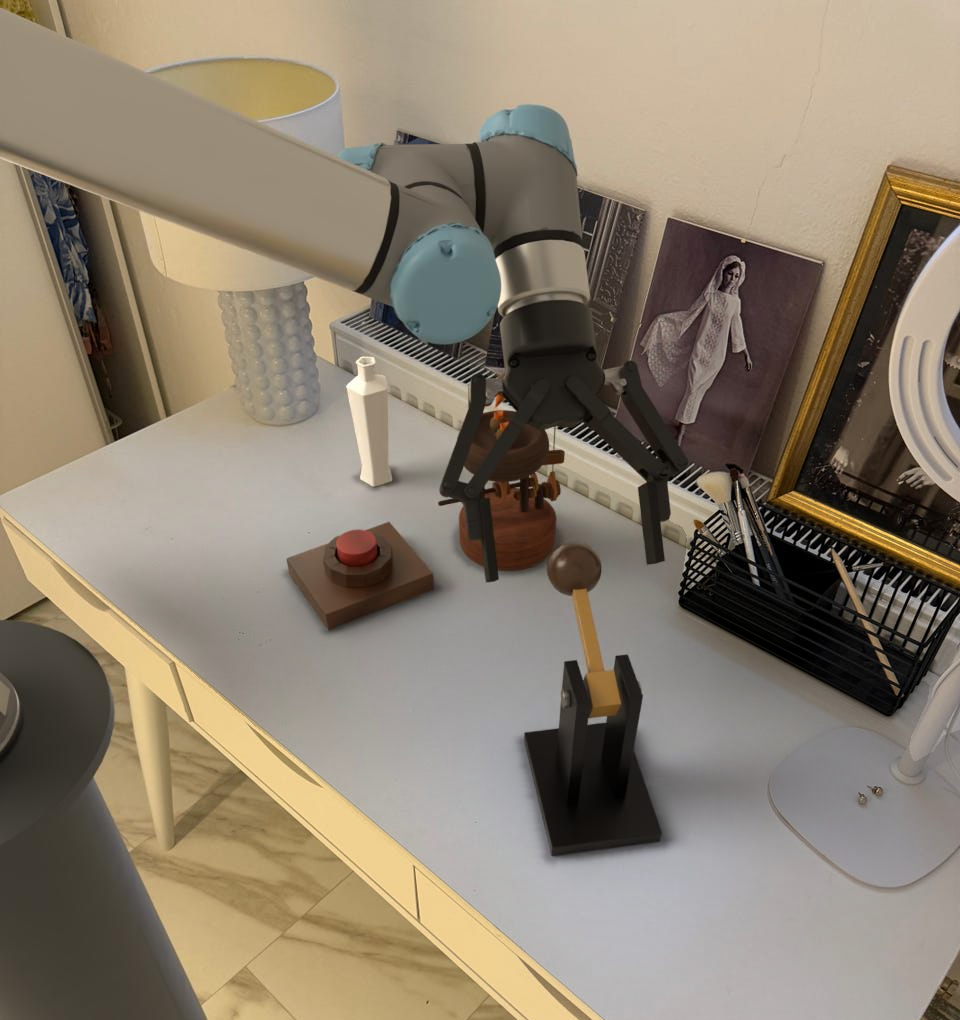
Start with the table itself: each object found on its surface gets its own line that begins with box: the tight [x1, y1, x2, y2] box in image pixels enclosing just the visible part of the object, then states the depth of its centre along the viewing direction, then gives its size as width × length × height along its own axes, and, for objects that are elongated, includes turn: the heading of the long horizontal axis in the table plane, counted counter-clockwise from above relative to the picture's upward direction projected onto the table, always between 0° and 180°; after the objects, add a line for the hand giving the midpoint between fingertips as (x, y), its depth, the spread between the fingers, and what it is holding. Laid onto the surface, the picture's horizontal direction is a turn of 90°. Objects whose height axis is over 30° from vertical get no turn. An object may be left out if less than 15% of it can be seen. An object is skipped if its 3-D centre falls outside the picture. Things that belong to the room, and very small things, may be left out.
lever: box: [546, 541, 621, 719], centre depth 76 cm, size 15×4×4 cm, turn 9°
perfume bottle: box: [346, 356, 393, 487], centre depth 109 cm, size 5×4×15 cm
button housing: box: [285, 521, 435, 631], centre depth 99 cm, size 12×10×4 cm
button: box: [336, 529, 377, 567], centre depth 98 cm, size 4×4×2 cm
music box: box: [437, 372, 566, 572], centre depth 98 cm, size 15×11×20 cm
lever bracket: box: [523, 654, 663, 857], centre depth 77 cm, size 12×9×14 cm
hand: (574, 572), depth 78 cm, fingers open, 13 cm apart
